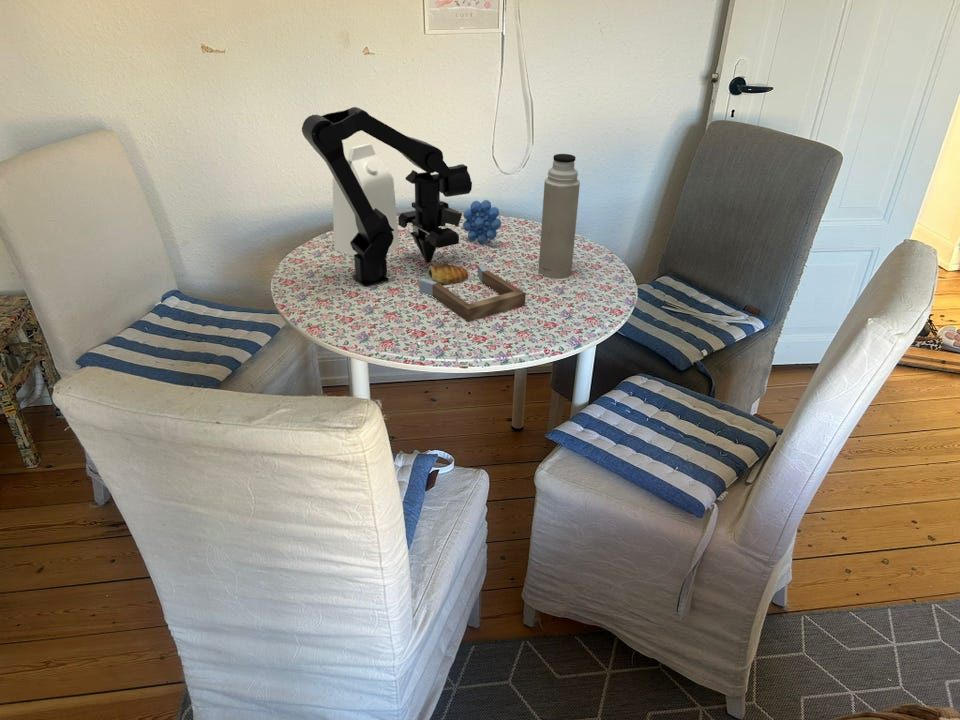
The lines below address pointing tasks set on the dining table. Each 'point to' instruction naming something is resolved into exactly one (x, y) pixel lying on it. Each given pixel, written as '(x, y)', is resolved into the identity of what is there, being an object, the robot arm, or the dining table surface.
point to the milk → (377, 191)
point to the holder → (469, 312)
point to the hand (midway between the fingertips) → (428, 262)
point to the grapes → (481, 221)
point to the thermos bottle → (559, 218)
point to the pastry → (447, 273)
